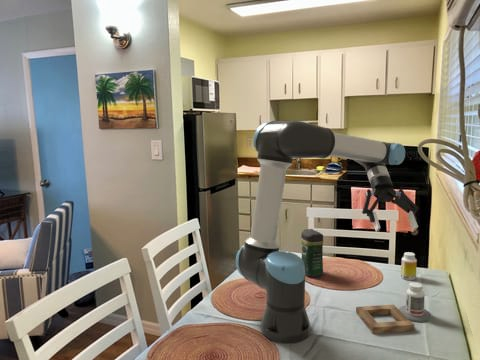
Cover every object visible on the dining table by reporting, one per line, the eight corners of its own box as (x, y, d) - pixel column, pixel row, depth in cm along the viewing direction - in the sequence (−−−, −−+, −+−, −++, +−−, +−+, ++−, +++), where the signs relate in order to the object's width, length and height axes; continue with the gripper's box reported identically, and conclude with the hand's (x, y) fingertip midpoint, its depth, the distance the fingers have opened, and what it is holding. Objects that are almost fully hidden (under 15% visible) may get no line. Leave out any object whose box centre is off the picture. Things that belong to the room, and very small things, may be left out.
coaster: (407, 323, 122) (407, 321, 122) (392, 307, 132) (392, 306, 132) (437, 320, 123) (437, 319, 123) (420, 306, 132) (420, 304, 132)
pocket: (372, 333, 116) (372, 327, 116) (355, 312, 129) (356, 306, 129) (413, 330, 117) (414, 324, 117) (393, 310, 130) (393, 304, 130)
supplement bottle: (418, 279, 154) (420, 255, 152) (406, 281, 153) (407, 256, 151) (409, 274, 159) (411, 250, 158) (397, 276, 158) (399, 252, 156)
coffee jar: (326, 276, 159) (326, 232, 156) (308, 278, 157) (309, 234, 154) (314, 267, 168) (315, 226, 165) (298, 270, 166) (298, 228, 163)
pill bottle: (427, 313, 126) (428, 285, 125) (417, 318, 123) (418, 289, 122) (412, 307, 131) (413, 279, 129) (402, 311, 128) (403, 283, 126)
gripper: (407, 185, 151) (426, 233, 139) (345, 186, 149) (359, 235, 137) (415, 174, 145) (435, 222, 133) (351, 175, 143) (365, 224, 131)
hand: (396, 229), depth 135 cm, fingers open, 13 cm apart
